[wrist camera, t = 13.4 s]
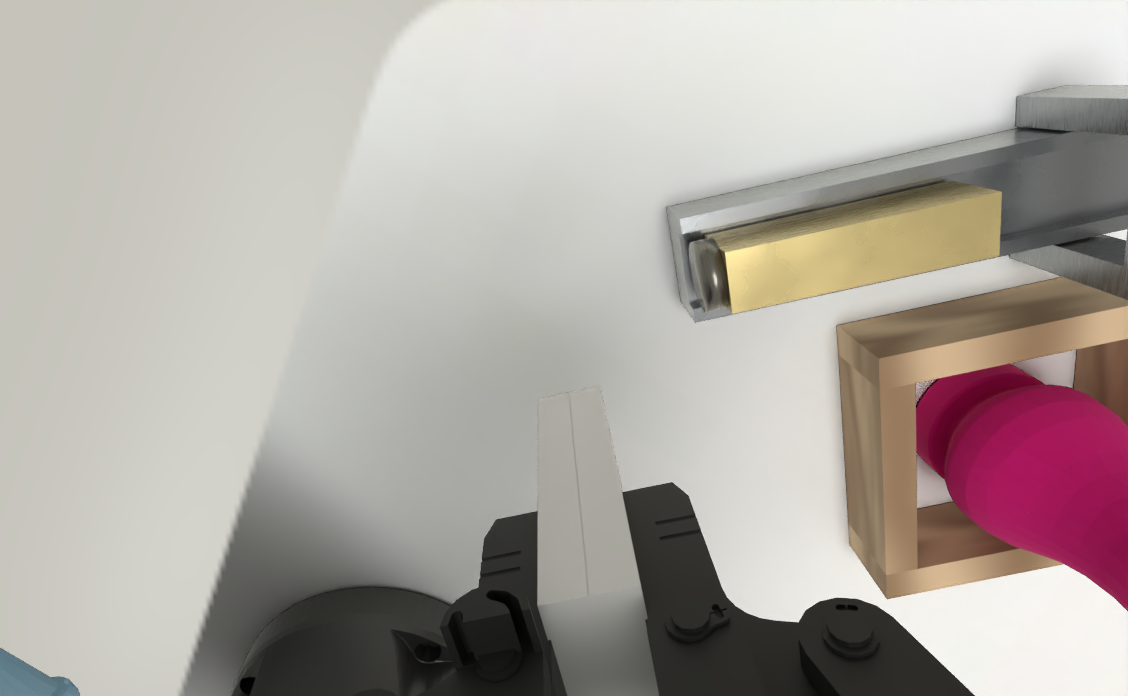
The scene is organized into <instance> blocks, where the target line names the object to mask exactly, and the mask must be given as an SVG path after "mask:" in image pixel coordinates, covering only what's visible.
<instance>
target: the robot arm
mask: <svg viewBox="0 0 1128 696" xmlns="http://www.w3.org/2000/svg"><path fill="white" fill-rule="evenodd" d="M480 577H481V578H480V579H479V588H477V589H474V590H471V591H470V592H468V593H467V594H465V595H464V596H462V597H460V598H459V599H457V600H456V601H455V602H454V603H453V605H452V606H449V605H447V604H445V603H443V602H440V601H438V600H435V599H433V598H430V597H427V596H424V595H421V594H417V593H413V592H409V591H403V590H397V589H389V588H352V589H344V590H338V591H333V592H329V593H325V594H321V595H318V596H315V597H312V598H310V599H307V600H305V601H302V602H300V603H298V604H296V605H294V606H292V607H291V608H289V609H287V610H286V611H284V612H283V613H281V614H280V615H279V616H277V617H276V618H275V619H274V620H272V621H271V622H270V623H269V624H268V625H267V626H266V627H265V628H264V629H263V631H262V632H261V633H260V634H259V636H258V637H257V638H256V640H255V642H254V643H253V645H252V647H251V649H250V651H249V653H248V655H247V657H246V659H245V661H244V663H243V665H242V667H241V669H240V671H239V673H238V675H237V677H236V680H235V682H234V685H233V688H232V691H231V695H230V696H975V695H974V694H972V693H971V692H970V691H969V690H968V689H967V688H966V687H965V686H964V685H963V684H962V683H961V682H960V681H959V680H958V679H957V678H956V677H955V676H954V675H953V674H952V673H951V672H949V671H948V670H947V669H946V668H945V667H944V666H943V665H942V664H941V663H940V662H939V661H938V660H937V659H936V658H935V657H934V656H933V655H932V654H931V653H930V652H929V651H928V650H927V649H925V648H924V647H923V646H922V645H921V644H920V643H919V642H918V641H917V640H916V639H915V638H914V637H913V636H912V635H911V634H910V633H909V632H908V631H907V630H906V629H905V628H904V627H903V626H901V625H900V624H899V623H898V622H897V621H896V620H895V619H894V618H893V617H892V616H890V615H889V614H888V613H886V612H885V611H883V610H882V609H880V608H879V607H877V606H876V605H873V604H870V603H867V602H864V601H861V600H858V599H849V598H833V599H829V600H825V601H820V602H818V603H816V604H815V605H813V606H812V607H810V608H809V609H807V610H806V611H805V613H804V614H803V616H802V618H801V619H800V621H799V623H797V622H785V621H774V620H768V619H762V618H758V617H755V616H753V615H750V614H747V613H745V612H744V611H742V610H741V609H739V608H738V607H736V606H735V605H734V604H733V603H732V602H731V601H730V600H729V599H728V598H727V597H726V595H725V593H724V591H723V589H722V587H721V584H720V582H719V579H718V576H717V573H716V571H715V568H714V565H713V562H712V560H711V557H710V554H709V551H708V549H707V546H706V543H705V540H704V538H703V535H702V533H701V530H700V526H699V524H698V521H697V518H696V516H695V513H694V510H693V507H692V504H691V502H690V499H689V496H688V495H687V494H686V493H684V492H683V491H682V490H681V489H680V488H678V487H677V486H676V485H675V484H674V483H672V482H671V483H666V484H661V485H656V486H651V487H646V488H641V489H636V490H631V491H626V492H623V490H622V486H621V481H620V476H619V471H618V467H617V462H616V458H615V453H614V448H613V444H612V439H611V434H610V430H609V425H608V420H607V416H606V411H605V407H604V402H603V397H602V393H601V388H600V386H596V387H591V388H586V389H582V390H577V391H572V392H567V393H563V394H558V395H553V396H548V397H543V398H539V399H538V511H536V512H531V513H527V514H522V515H517V516H512V517H507V518H502V519H497V520H496V521H495V523H494V524H493V526H492V527H491V529H490V531H489V532H488V534H487V535H486V537H485V538H484V545H483V554H482V562H481V571H480ZM0 696H80V693H79V691H78V688H77V687H76V686H75V685H74V684H73V683H72V682H71V681H70V680H69V679H67V678H64V677H49V676H47V675H46V674H44V673H42V672H41V671H39V670H37V669H36V668H34V667H32V666H30V665H29V664H27V663H25V662H24V661H22V660H20V659H19V658H17V657H15V656H13V655H12V654H10V653H8V652H7V651H5V650H3V649H1V648H0Z"/></svg>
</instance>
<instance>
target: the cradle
mask: <svg viewBox="0 0 1128 696" xmlns="http://www.w3.org/2000/svg"><path fill="white" fill-rule="evenodd" d="M837 339H838V356H839V372H840V389H841V406H842V423H843V439H844V456H845V473H846V490H847V506H848V523H849V540H850V546H851V548H852V549H853V551H854V552H855V554H856V555H857V556H858V558H859V559H860V561H861V562H862V564H863V565H864V567H865V568H866V569H867V571H868V572H869V574H870V575H871V577H872V578H873V580H874V581H875V583H876V584H877V585H878V587H879V588H880V590H881V591H882V593H883V594H884V596H885V597H886V598H887V599H890V598H895V597H901V596H906V595H911V594H916V593H921V592H926V591H931V590H936V589H941V588H946V587H951V586H956V585H961V584H966V583H971V582H976V581H981V580H986V579H991V578H997V577H1002V576H1007V575H1012V574H1017V573H1022V572H1027V571H1032V570H1037V569H1042V568H1047V567H1052V566H1057V565H1062V564H1063V563H1060V562H1058V561H1055V560H1053V559H1050V558H1047V557H1044V556H1041V555H1038V554H1035V553H1032V552H1030V551H1027V550H1024V549H1021V548H1018V547H1015V546H1012V545H1010V544H1008V543H1006V542H1004V541H1002V540H1000V539H999V538H997V537H995V536H993V535H991V534H989V533H987V532H986V531H985V530H983V529H982V528H981V527H979V526H978V525H977V524H976V523H974V522H973V521H972V520H971V519H969V518H968V517H967V516H966V515H965V514H964V513H963V512H962V511H961V510H960V509H959V508H958V507H957V505H956V504H955V503H954V502H950V503H945V504H940V505H935V506H930V507H926V508H921V509H917V469H916V383H919V382H924V381H929V380H933V379H938V378H943V377H948V376H952V375H957V374H962V373H967V372H972V371H976V370H981V369H986V368H991V367H995V366H1000V365H1005V364H1010V363H1014V362H1019V361H1024V360H1029V359H1033V358H1038V357H1043V356H1048V355H1052V354H1057V353H1062V352H1067V351H1071V350H1076V349H1077V357H1076V368H1075V379H1074V389H1075V390H1078V391H1081V392H1083V393H1085V394H1087V395H1089V396H1091V397H1092V398H1094V399H1095V400H1097V401H1098V402H1100V403H1101V404H1103V405H1104V406H1105V407H1107V408H1108V409H1110V410H1111V411H1113V412H1114V413H1115V414H1117V415H1118V416H1119V417H1120V418H1121V420H1122V421H1123V422H1124V423H1125V424H1126V425H1127V426H1128V300H1126V299H1123V298H1120V297H1117V296H1115V295H1112V294H1109V293H1106V292H1104V291H1101V290H1098V289H1095V288H1092V287H1090V286H1087V285H1084V284H1081V283H1078V282H1076V281H1073V280H1070V279H1067V278H1064V277H1061V278H1056V279H1051V280H1047V281H1042V282H1037V283H1033V284H1028V285H1023V286H1019V287H1014V288H1009V289H1005V290H1000V291H995V292H991V293H986V294H981V295H977V296H972V297H967V298H963V299H958V300H953V301H949V302H944V303H940V304H935V305H930V306H926V307H921V308H916V309H912V310H907V311H902V312H898V313H893V314H888V315H884V316H879V317H874V318H870V319H865V320H860V321H856V322H851V323H846V324H842V325H837Z"/></svg>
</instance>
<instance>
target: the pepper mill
mask: <svg viewBox="0 0 1128 696" xmlns="http://www.w3.org/2000/svg"><path fill="white" fill-rule="evenodd" d="M916 451H917V453H918V454H919V456H920V457H921V458H922V459H923V460H924V461H925V462H926V463H927V464H928V465H929V466H930V467H931V468H933V469H934V470H935V471H936V472H937V473H938V474H939V475H940V476H941V477H942V478H944V479H945V481H946V485H947V489H948V491H949V493H950V496H951V498H952V500H953V501H954V503H955V504H956V505H957V507H958V508H959V509H960V510H961V511H962V512H963V513H964V514H965V515H966V516H967V517H968V518H969V519H971V520H972V521H973V522H974V523H976V524H977V525H978V526H979V527H981V528H982V529H983V530H985V531H986V532H987V533H989V534H991V535H993V536H995V537H997V538H999V539H1000V540H1002V541H1004V542H1006V543H1008V544H1010V545H1012V546H1015V547H1018V548H1021V549H1024V550H1027V551H1030V552H1032V553H1035V554H1038V555H1041V556H1044V557H1047V558H1050V559H1053V560H1055V561H1058V562H1060V563H1063V564H1065V565H1067V566H1069V567H1070V568H1072V569H1074V570H1076V571H1078V572H1079V573H1081V574H1083V575H1085V576H1086V577H1088V578H1089V579H1090V580H1092V581H1093V582H1094V583H1096V584H1097V585H1098V586H1100V587H1101V588H1102V589H1103V590H1105V591H1106V592H1107V593H1109V594H1110V595H1111V596H1113V597H1114V598H1115V599H1116V600H1117V601H1118V602H1119V603H1120V604H1121V605H1122V606H1123V607H1124V608H1125V609H1126V610H1127V611H1128V426H1127V425H1126V424H1125V423H1124V422H1123V421H1122V420H1121V418H1120V417H1119V416H1118V415H1117V414H1115V413H1114V412H1113V411H1111V410H1110V409H1108V408H1107V407H1105V406H1104V405H1103V404H1101V403H1100V402H1098V401H1097V400H1095V399H1094V398H1092V397H1091V396H1089V395H1087V394H1085V393H1083V392H1081V391H1078V390H1075V389H1072V388H1069V387H1064V386H1057V385H1045V384H1043V383H1042V382H1041V381H1039V380H1037V379H1036V378H1034V377H1032V376H1030V375H1029V374H1027V373H1025V372H1024V371H1022V370H1020V369H1019V368H1017V367H1015V366H1012V365H1010V364H1005V365H1000V366H995V367H991V368H986V369H981V370H976V371H972V372H967V373H962V374H957V375H952V376H948V377H943V378H940V379H939V380H938V381H937V382H936V383H935V384H933V385H932V386H931V387H930V388H929V389H928V390H927V392H926V393H925V394H924V396H923V397H922V399H921V400H920V402H919V404H918V406H917V408H916Z"/></svg>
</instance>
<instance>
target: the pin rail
mask: <svg viewBox="0 0 1128 696" xmlns="http://www.w3.org/2000/svg"><path fill="white" fill-rule="evenodd" d="M1016 126H1018V127H1021V128H1017V129H1012V130H1008V131H1003V132H999V133H994V134H990V135H985V136H981V137H977V138H972V139H968V140H963V141H959V142H954V143H950V144H945V145H941V146H936V147H932V148H927V149H923V150H918V151H914V152H910V153H905V154H901V155H896V156H892V157H887V158H883V159H878V160H874V161H869V162H865V163H860V164H856V165H852V166H847V167H843V168H838V169H834V170H829V171H825V172H820V173H816V174H811V175H807V176H802V177H798V178H793V179H789V180H785V181H780V182H776V183H771V184H767V185H762V186H758V187H753V188H749V189H744V190H740V191H735V192H731V193H727V194H722V195H718V196H713V197H709V198H704V199H700V200H695V201H691V202H686V203H682V204H677V205H673V206H668V207H666V208H667V215H668V221H669V228H670V234H671V241H672V247H673V254H674V260H675V267H676V273H677V280H678V286H679V293H680V299H681V303H682V304H683V306H684V307H685V309H686V310H687V312H688V313H689V314H690V316H691V317H692V319H693V320H694V322H695V323H696V322H700V321H705V320H710V319H714V318H719V317H723V316H728V315H733V314H732V313H731V312H730V311H729V309H728V308H724V309H720V310H715V311H710V312H706V313H705V312H703V311H702V309H701V307H700V305H699V303H698V300H697V297H696V294H695V290H694V287H693V282H692V278H691V272H690V266H689V253H688V252H689V244H690V242H694V241H698V240H703V239H705V235H708V234H712V233H717V232H721V231H726V230H730V229H735V228H739V227H744V226H748V225H753V224H757V223H762V222H766V221H771V220H775V219H780V218H784V217H789V216H793V215H798V214H802V213H807V212H811V211H816V210H820V209H825V208H829V207H834V206H839V205H843V204H848V203H852V202H857V201H861V200H866V199H870V198H875V197H879V196H884V195H888V194H893V193H897V192H902V191H906V190H911V189H915V188H920V187H924V186H929V185H933V184H938V183H942V182H947V181H951V180H952V181H957V182H961V183H966V184H970V185H974V186H979V187H983V188H988V189H992V190H997V191H1001V192H1002V202H1001V227H1000V252H999V256H997V257H1000V256H1005V255H1009V254H1010V258H1012V259H1014V260H1017V261H1020V262H1023V263H1025V264H1028V265H1031V266H1034V267H1037V268H1039V269H1042V270H1045V271H1048V272H1051V273H1053V274H1056V275H1059V276H1062V277H1064V278H1067V279H1070V280H1073V281H1076V282H1078V283H1081V284H1084V285H1087V286H1090V287H1092V288H1095V289H1098V290H1101V291H1104V292H1106V293H1109V294H1112V295H1115V296H1117V297H1120V298H1123V299H1126V300H1128V231H1127V240H1126V241H1125V240H1122V239H1118V238H1114V237H1110V236H1106V235H1102V234H1106V233H1111V232H1116V231H1120V230H1125V229H1128V85H1069V86H1061V87H1057V88H1052V89H1048V90H1044V91H1039V92H1035V93H1030V94H1026V95H1021V96H1017V109H1016ZM993 258H996V257H993ZM988 259H991V258H988ZM984 260H986V259H984ZM979 261H982V260H979ZM974 262H977V261H974ZM970 263H973V262H970ZM965 264H968V263H965ZM961 265H963V264H961ZM956 266H959V265H956ZM951 267H954V266H951ZM947 268H949V267H947ZM942 269H945V268H942ZM938 270H940V269H938ZM933 271H936V270H933ZM928 272H931V271H928ZM924 273H926V272H924ZM919 274H922V273H919ZM914 275H917V274H914ZM910 276H913V275H910ZM905 277H908V276H905ZM901 278H903V277H901ZM896 279H899V278H896ZM891 280H894V279H891ZM887 281H889V280H887ZM882 282H885V281H882ZM878 283H880V282H878ZM873 284H876V283H873ZM868 285H871V284H868ZM864 286H866V285H864ZM859 287H862V286H859ZM854 288H857V287H854ZM850 289H853V288H850ZM845 290H848V289H845ZM841 291H843V290H841ZM836 292H839V291H836ZM831 293H834V292H831ZM827 294H830V293H827ZM822 295H825V294H822ZM818 296H820V295H818ZM813 297H816V296H813ZM808 298H811V297H808ZM804 299H806V298H804ZM799 300H802V299H799ZM795 301H797V300H795ZM790 302H793V301H790ZM785 303H788V302H785ZM781 304H783V303H781ZM776 305H779V304H776ZM771 306H774V305H771ZM767 307H770V306H767ZM762 308H765V307H762ZM758 309H760V308H758ZM753 310H756V309H753ZM748 311H751V310H748ZM744 312H746V311H744ZM739 313H742V312H739ZM735 314H737V313H735Z"/></svg>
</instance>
